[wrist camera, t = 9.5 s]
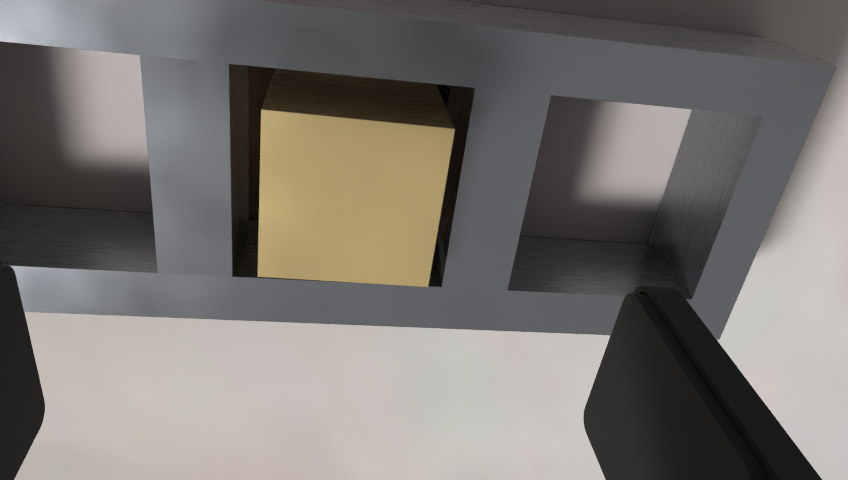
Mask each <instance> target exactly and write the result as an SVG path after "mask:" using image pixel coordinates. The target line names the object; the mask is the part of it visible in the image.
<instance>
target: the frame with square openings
mask: <svg viewBox="0 0 848 480" xmlns="http://www.w3.org/2000/svg"><path fill="white" fill-rule="evenodd" d="M0 41H2V42H12V43H23V44H33V45H43V46H53V47H63V48H74V49H84V50H94V51H104V52H114V53H125V54H135V55H140V60H141V72H142V85H143V97H144V109H145V122H146V134H147V146H148V159H149V171H150V183H151V196H152V208H153V213H142V212H126V211H110V210H94V209H78V208H62V207H46V206H30V205H15V204H0V261H1V262H2V265H5V266H10V267H12V268H13V270H14V272H15V274H16V278H17V283H18V287H19V292H20V296H21V300H22V305H23V309H24V312H45V313H70V314H95V315H120V316H145V317H170V318H195V319H220V320H245V321H270V322H295V323H321V324H346V325H371V326H396V327H421V328H446V329H471V330H496V331H521V332H546V333H572V334H597V335H611V333H612V330H613V328H614V325H615V322H616V319H617V316H618V314H619V311H620V308H621V305H622V302H623V300H624V298H625V296H626V295H627V294H630V293H634V291H635V289H636V288H637V287H638V286H641V285H650V286H671V287H675V288H677V289H678V290H679V291H680V292H681V293H682V295H683V296H684V297H685V299H686V300H687V301H688V303H689V304H690V305H691V307H692V308H693V309H694V311H695V312H696V313H697V315H698V316H699V317H700V319H701V320H702V321H703V323H704V324H705V325H706V327H707V328H708V329H709V331H710V332H711V333H712V335H713V336H714V337H715V339H720V337H721V334H722V332H723V330H724V327H725V325H726V323H727V320H728V318H729V316H730V314H731V311H732V309H733V307H734V304H735V302H736V300H737V297H738V295H739V293H740V290H741V288H742V286H743V283H744V281H745V279H746V276H747V274H748V272H749V269H750V267H751V265H752V262H753V260H754V258H755V255H756V253H757V251H758V249H759V246H760V244H761V242H762V239H763V237H764V235H765V232H766V230H767V228H768V225H769V223H770V221H771V218H772V216H773V214H774V211H775V209H776V207H777V204H778V202H779V200H780V197H781V195H782V193H783V190H784V188H785V186H786V184H787V181H788V179H789V177H790V174H791V172H792V170H793V167H794V165H795V163H796V160H797V158H798V156H799V153H800V151H801V149H802V146H803V144H804V142H805V139H806V137H807V135H808V132H809V130H810V128H811V125H812V123H813V121H814V119H815V116H816V114H817V112H818V109H819V107H820V105H821V102H822V100H823V98H824V95H825V93H826V91H827V88H828V86H829V84H830V81H831V79H832V77H833V74H834V72H835V70H836V67H837V66H835V65H832V64H830V63H827V62H825V61H822V60H819V59H817V58H814V57H812V56H809V55H807V54H804V53H802V52H799V51H797V50H794V49H792V48H789V47H787V46H784V45H782V44H779V43H777V42H774V41H772V40H769V39H767V38H764V37H758V36H750V35H741V34H733V33H724V32H716V31H707V30H699V29H691V28H682V27H674V26H665V25H657V24H648V23H640V22H631V21H623V20H615V19H606V18H598V17H589V16H581V15H572V14H564V13H556V12H547V11H539V10H530V9H522V8H513V7H505V6H497V5H488V4H480V3H471V2H463V1H454V0H0ZM248 66H257V67H267V68H278V69H288V70H298V71H308V72H318V73H328V74H339V75H349V76H359V77H369V78H379V79H390V80H400V81H410V82H420V83H430V84H441V85H450V91H449V98H448V104H447V111H448V114H449V116H450V118H451V121H452V123H453V125H454V128H455V132H454V138H453V144H452V150H451V156H450V161H449V167H448V173H447V179H446V185H445V191H444V197H443V203H442V208H441V214H440V220H439V226H438V232H437V238H436V244H435V250H434V255H433V261H432V267H431V273H430V279H429V285H428V287H420V286H404V285H387V284H370V283H354V282H337V281H321V280H304V279H287V278H271V277H258V234H259V220H253V219H248ZM551 95H553V96H563V97H573V98H583V99H594V100H604V101H614V102H624V103H634V104H645V105H655V106H665V107H675V108H685V109H692V112H691V115H690V118H689V121H688V124H687V127H686V130H685V133H684V136H683V139H682V142H681V145H680V148H679V151H678V154H677V157H676V160H675V163H674V166H673V169H672V172H671V175H670V178H669V181H668V184H667V187H666V190H665V193H664V196H663V199H662V202H661V205H660V208H659V211H658V214H657V217H656V220H655V223H654V226H653V229H652V232H651V235H650V238H649V241H648V244H634V243H618V242H602V241H586V240H570V239H554V238H538V237H522V236H520V232H521V227H522V223H523V219H524V214H525V210H526V205H527V201H528V196H529V192H530V188H531V183H532V179H533V174H534V170H535V165H536V161H537V157H538V152H539V148H540V143H541V139H542V134H543V130H544V125H545V121H546V117H547V112H548V108H549V103H550V99H551Z"/></svg>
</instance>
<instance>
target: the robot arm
mask: <svg viewBox="0 0 848 480" xmlns="http://www.w3.org/2000/svg"><path fill="white" fill-rule="evenodd" d="M44 412H45V403H44V397H43V393H42V388H41V384H40V380H39V375H38V371H37V366H36V362H35V358H34V353H33V349H32V344H31V340H30V336H29V331H28V327H27V322H26V318H25V314H24V309H23V305H22V300H21V296H20V292H19V287H18V283H17V278H16V274H15V272H14V270H13V268H12V267H10V266H5V265H2V262H1V261H0V480H14V478H15V476H16V474H17V472H18V471H19V469H20V467H21V465H22V463H23V461H24V459H25V457H26V455H27V453H28V451H29V449H30V447H31V445H32V443H33V441H34V439H35V437H36V435H37V433H38V431H39V429H40V427H41V425H42V422H43V418H44ZM584 426H585V430H586V433H587V436H588V438H589V440H590V443H591V445H592V448H593V450H594V452H595V455H596V457H597V460H598V462H599V464H600V467H601V469H602V472H603V474H604V476H605V479H606V480H822V479H821V478H820V476H819V475H818V474H817V472H816V471H815V470H814V468H813V467H812V466H811V464H810V463H809V462H808V461H807V459H806V458H805V457H804V455H803V454H802V453H801V451H800V450H799V449H798V447H797V446H796V445H795V443H794V442H793V441H792V439H791V438H790V437H789V435H788V434H787V433H786V431H785V430H784V429H783V427H782V426H781V425H780V423H779V422H778V421H777V419H776V418H775V417H774V415H773V414H772V413H771V411H770V410H769V409H768V407H767V406H766V405H765V404H764V402H763V401H762V400H761V398H760V397H759V396H758V394H757V393H756V392H755V390H754V389H753V388H752V386H751V385H750V384H749V382H748V381H747V380H746V378H745V377H744V376H743V374H742V373H741V372H740V370H739V369H738V368H737V366H736V365H735V364H734V362H733V361H732V360H731V358H730V357H729V356H728V354H727V353H726V352H725V350H724V349H723V348H722V346H721V345H720V344H719V343H718V341H717V340H716V339H715V337H714V336H713V335H712V333H711V332H710V331H709V329H708V328H707V327H706V325H705V324H704V323H703V321H702V320H701V319H700V317H699V316H698V315H697V313H696V312H695V311H694V309H693V308H692V307H691V305H690V304H689V303H688V301H687V300H686V299H685V297H684V296H683V295H682V293H681V292H680V291H679V290H678V289H677V288H675V287H671V286H650V285H641V286H638V287H637V288H636V289H635V291H634V293H630V294H627V295H626V296H625V298H624V300H623V302H622V305H621V308H620V311H619V314H618V316H617V319H616V322H615V325H614V328H613V330H612V333H611V336H610V339H609V342H608V345H607V347H606V350H605V353H604V356H603V359H602V361H601V364H600V367H599V370H598V373H597V376H596V378H595V381H594V384H593V387H592V390H591V393H590V395H589V398H588V401H587V404H586V407H585V410H584Z"/></svg>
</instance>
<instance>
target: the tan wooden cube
mask: <svg viewBox="0 0 848 480" xmlns="http://www.w3.org/2000/svg"><path fill="white" fill-rule="evenodd" d="M454 132H455V128H454V125H453V123H452V121H451V118H450V116H449V114H448V111H447V109H446V107H445V104H444V102H443V100H442V97H441V95H440V93H439V90H438V88H437V86H436V84H430V83H420V82H410V81H400V80H390V79H379V78H369V77H359V76H349V75H339V74H328V73H318V72H308V71H298V70H288V69H278V68H276V69H275V72H274V75H273V77H272V80H271V83H270V86H269V89H268V92H267V94H266V97H265V100H264V103H263V106H262V108H261V138H260V186H259V234H258V277H271V278H287V279H304V280H321V281H337V282H354V283H370V284H387V285H404V286H420V287H428V285H429V279H430V273H431V267H432V261H433V255H434V250H435V244H436V238H437V232H438V226H439V220H440V214H441V208H442V203H443V197H444V191H445V185H446V179H447V173H448V167H449V161H450V156H451V150H452V144H453V138H454Z"/></svg>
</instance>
